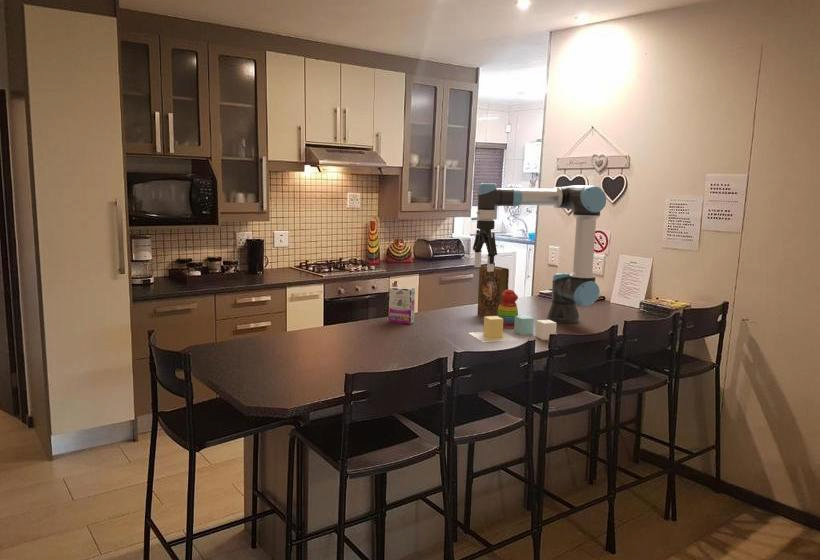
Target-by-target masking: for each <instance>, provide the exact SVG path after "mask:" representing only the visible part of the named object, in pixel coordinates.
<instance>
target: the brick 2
mask: <svg viewBox="0 0 820 560" xmlns="http://www.w3.org/2000/svg"><path fill="white" fill-rule="evenodd" d="M535 324H536V326H535V327H536V328H535V337H536V338H538V339H540V340H542V341H546V340H547V341H549V340H548V339H549V335H550V334H556V335H557V324H558V323H556V322H553V321H551V320H547V319H537V320H536V323H535Z"/></svg>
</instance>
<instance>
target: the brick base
mask: <svg viewBox="0 0 820 560" xmlns="http://www.w3.org/2000/svg"><path fill="white" fill-rule="evenodd" d="M483 332H484V333H483V335H484V336H486V337H488V338H489V339H490V338H503V332H504V328H503V319H502V318H500V317H498V316H486V317H483Z"/></svg>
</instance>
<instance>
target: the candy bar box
mask: <svg viewBox="0 0 820 560" xmlns="http://www.w3.org/2000/svg"><path fill="white" fill-rule="evenodd" d="M415 290H416V288H413V287H406V286H405V287H404V286H402V287H401V286H391V287H389V288H388V299H389V300H388V323H391V324H404V325H412V324H414V323H415V303H416V302H415V299H416V298H415V297H416V296H415V295H416V293H415V292H416V291H415Z"/></svg>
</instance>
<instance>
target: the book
mask: <svg viewBox="0 0 820 560" xmlns="http://www.w3.org/2000/svg"><path fill="white" fill-rule="evenodd" d="M478 268H479V269H478V288H477V289H478V295H477V296H478V297H477V313H476V314H477V316H478V317H482V318H484V317H486V316H497V311H498V307H499V305H500V303H501V302H502V297H501V295H502V292H503V291H505V290H507V289H509V276H510V268H506V267H502V266H495V265H494V271H492V272H488V271H487V264H481V267H478Z"/></svg>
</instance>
